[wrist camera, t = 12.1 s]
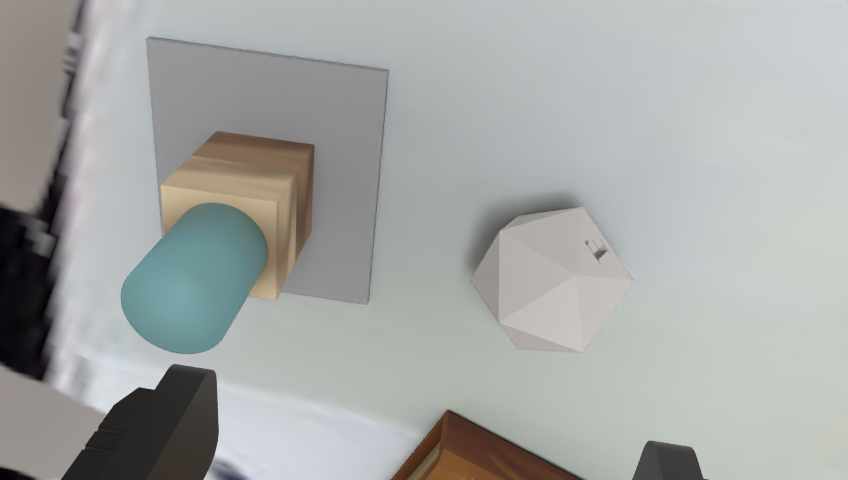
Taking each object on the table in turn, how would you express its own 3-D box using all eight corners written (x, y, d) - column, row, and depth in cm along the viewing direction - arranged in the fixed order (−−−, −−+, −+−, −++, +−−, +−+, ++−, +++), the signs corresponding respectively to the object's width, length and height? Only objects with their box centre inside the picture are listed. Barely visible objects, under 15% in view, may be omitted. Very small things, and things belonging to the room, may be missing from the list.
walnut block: (217, 130, 43) (191, 155, 40) (314, 144, 43) (297, 170, 39) (220, 218, 46) (196, 248, 42) (311, 231, 46) (295, 263, 42)
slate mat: (149, 36, 41) (146, 38, 41) (388, 70, 41) (387, 72, 40) (168, 270, 49) (165, 274, 48) (368, 300, 48) (367, 304, 48)
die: (614, 298, 47) (684, 293, 38) (510, 374, 46) (555, 389, 36) (544, 197, 47) (595, 166, 38) (438, 269, 46) (464, 256, 36)
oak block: (191, 155, 40) (160, 185, 36) (297, 170, 39) (276, 202, 36) (196, 248, 42) (168, 284, 39) (295, 263, 42) (275, 300, 39)
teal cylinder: (172, 196, 36) (115, 254, 31) (268, 210, 36) (227, 271, 31) (177, 278, 39) (126, 345, 33) (267, 291, 38) (230, 361, 33)
